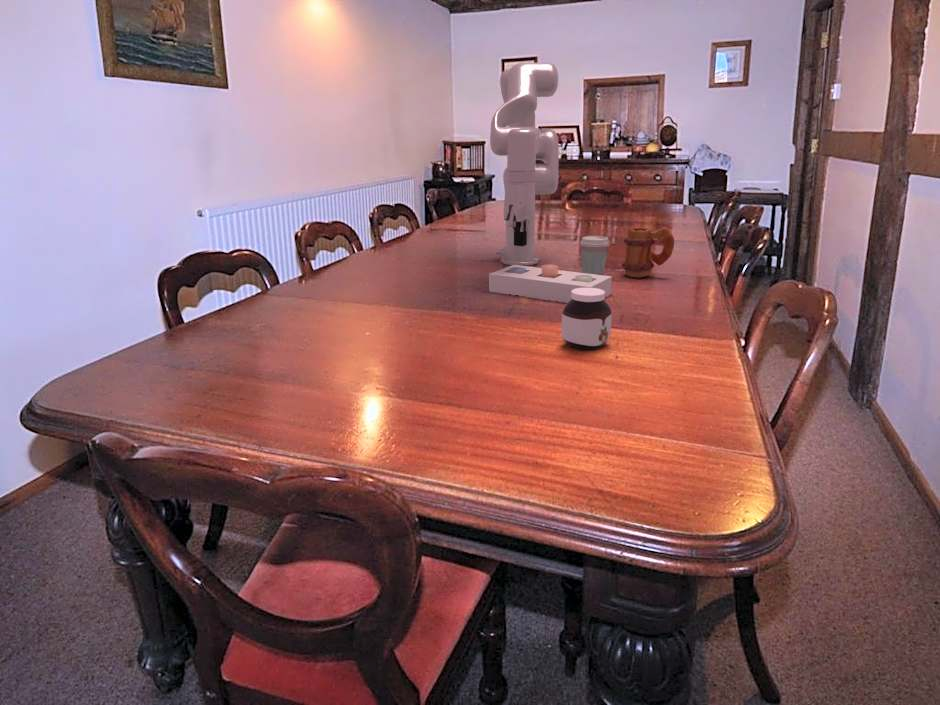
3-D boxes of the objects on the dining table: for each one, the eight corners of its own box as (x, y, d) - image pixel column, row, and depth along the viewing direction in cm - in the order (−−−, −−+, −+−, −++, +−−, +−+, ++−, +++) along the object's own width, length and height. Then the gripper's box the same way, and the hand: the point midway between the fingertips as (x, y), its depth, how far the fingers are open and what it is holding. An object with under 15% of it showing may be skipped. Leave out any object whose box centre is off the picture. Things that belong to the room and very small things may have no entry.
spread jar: (581, 355, 133) (584, 299, 129) (543, 341, 141) (545, 288, 137) (621, 343, 139) (625, 289, 135) (583, 330, 148) (585, 280, 144)
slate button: (506, 286, 184) (506, 269, 183) (514, 283, 188) (514, 266, 186) (520, 288, 182) (520, 271, 180) (527, 285, 185) (528, 268, 184)
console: (489, 291, 182) (489, 273, 181) (514, 281, 193) (514, 264, 192) (589, 306, 167) (590, 287, 165) (610, 294, 178) (611, 276, 176)
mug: (617, 277, 197) (620, 227, 192) (624, 272, 203) (628, 223, 198) (667, 282, 190) (672, 230, 185) (673, 276, 197) (678, 226, 192)
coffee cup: (607, 281, 192) (609, 240, 188) (577, 280, 193) (579, 240, 189) (607, 275, 200) (609, 235, 196) (579, 274, 201) (580, 235, 197)
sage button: (571, 296, 174) (572, 277, 172) (578, 292, 177) (579, 274, 176) (587, 298, 172) (588, 279, 170) (594, 294, 175) (595, 276, 173)
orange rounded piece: (538, 284, 179) (538, 266, 177) (545, 281, 182) (546, 263, 180) (553, 286, 176) (553, 268, 175) (560, 283, 180) (560, 265, 178)
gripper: (522, 174, 184) (521, 239, 190) (494, 179, 172) (494, 248, 178) (546, 175, 180) (544, 242, 186) (519, 180, 168) (518, 251, 175)
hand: (520, 245), depth 182 cm, fingers closed
